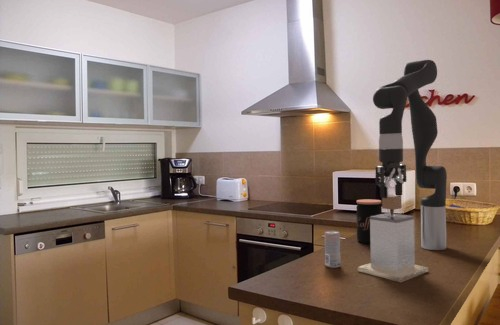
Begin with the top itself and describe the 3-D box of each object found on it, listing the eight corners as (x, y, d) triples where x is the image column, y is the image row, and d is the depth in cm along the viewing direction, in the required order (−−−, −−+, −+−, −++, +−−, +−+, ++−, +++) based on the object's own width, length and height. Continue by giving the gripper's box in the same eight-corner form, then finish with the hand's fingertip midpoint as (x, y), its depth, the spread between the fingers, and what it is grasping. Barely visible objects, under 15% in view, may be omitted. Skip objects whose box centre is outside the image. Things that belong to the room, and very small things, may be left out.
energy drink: (338, 263, 150) (337, 230, 150) (342, 267, 145) (341, 233, 145) (323, 264, 150) (323, 230, 150) (326, 268, 145) (326, 233, 144)
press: (385, 262, 150) (384, 211, 150) (428, 271, 138) (427, 216, 137) (357, 271, 140) (357, 216, 140) (401, 282, 128) (400, 222, 127)
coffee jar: (352, 242, 183) (351, 201, 183) (364, 237, 191) (363, 198, 191) (375, 245, 176) (374, 202, 175) (386, 240, 184) (385, 200, 183)
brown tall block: (389, 255, 144) (388, 194, 143) (408, 259, 138) (407, 196, 138) (376, 259, 140) (375, 196, 139) (396, 264, 134) (395, 198, 133)
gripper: (392, 147, 145) (393, 194, 146) (368, 148, 136) (368, 198, 137) (413, 147, 139) (413, 195, 140) (388, 148, 130) (389, 199, 131)
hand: (391, 196), depth 138 cm, fingers open, 8 cm apart
